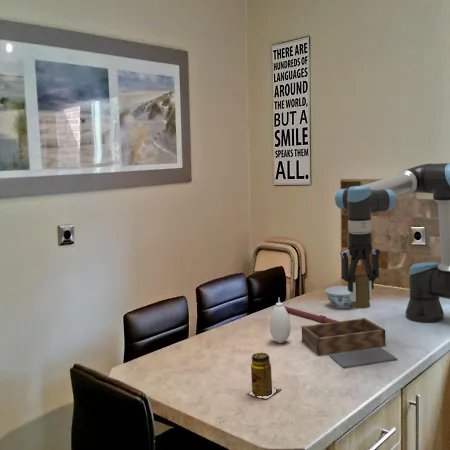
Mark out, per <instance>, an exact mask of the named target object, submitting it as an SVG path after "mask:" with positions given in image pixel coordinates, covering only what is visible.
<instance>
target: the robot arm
mask: <svg viewBox="0 0 450 450" xmlns="http://www.w3.org/2000/svg"><path fill="white" fill-rule="evenodd" d="M415 193H422V194H423V193H424V194H432V196H433V197H432V199H433V201H434V202H435V203H437V213H438V228H439V243H440V244H439V246H440V260H441V262H440V263H439V262H436V261H435V262H434V261H431V262H430V261H429V262H417V263H413V264H412V265H411V266H410V267H409V274H408V276H409V300H408V302H407V306H406V309H405V318H406V319H407V320H410V321H413V322H418V323H437V322H441V321H443V320H444V318H445V312H444V309H443V306H442V304H441V300H440V298H444V299H448V300H450V162H445V163H444V162H442V163H441V162H440V163H424V164H420V165H416V166H413V167H410V168H408V169H404V170H402V171H400V172H399V173H398V174H396V175H392V176H390V177H386V178H383V179H380V180H376V181H373V182H369V183H366V184H363V185H362V184H361V185H356V186H349V187H346V188H340V189H339V190H337V191H336V193H335V195H334V201H335V202H334V203H335V206H336V207H337V208H339V209H342V210H345V211H346V210H347V228H348V229H347V231H348V232H349V233H348V235H347V236H348V241H347V242H348V247H347V250H344V251H340V252H339V253H340V254H339V255H340V256H341V279H342V280H343V281H344V282H347V286H348V291H350V300H352V301H353V302H356V283H355V282H353V281H354V276H355V275H356V271H357V267H358V264H359V261H361V260H362V261H363V265H364V271H365V273H366V274H365V275H367V276H368V279H369V281H368V283H367V288H368V295H369V301H371V300H373V299H372V296H373V294H372V293H373V291H372V290H374V288H375V287H374V285H375V283H374V282H375V281H376V279H378V278H380V269H379V268H380V264H379V263H380V262H379V255H380V251H381V250H380V249H378V248H373V246H372V233H371V231H372V213H373V214H374V213H379V212H381V213H382V212H385V213H386V212H388V211H390V210H393V209H395V207H396V205H397V200H398V199H397V196H399V195H403V194H405V195H410V194H415ZM370 254H371V258H370ZM349 255H350V256H351V257H350V256H349ZM349 257H350V264H349Z"/></svg>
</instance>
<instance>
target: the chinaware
mask: <svg viewBox="0 0 450 450" xmlns="http://www.w3.org/2000/svg"><path fill="white" fill-rule="evenodd" d="M325 294H326V298H327V299H328V301H329V302H330V303H331V304H333V305H334V307H335V308H336V309H349V308H350V307H351V306H352V302H353V301H352V300H350V291H348V285H347V286H346V285H337V286H336V285H335V286H330V287H328V288H326V289H325Z"/></svg>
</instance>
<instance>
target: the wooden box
mask: <svg viewBox="0 0 450 450" xmlns="http://www.w3.org/2000/svg"><path fill="white" fill-rule="evenodd" d="M338 321H339V322H331V323H317V324H309V325H303V326H301V341H302V343H303V344H304V345H305V346H306V347H308V348H309V349H310V350H311V351H312V352H314V353H315V354H316V355H317V356H326V355H334V354H340V353H347V352H354V351H361V350H368V349H375V348H383V347H386V346H387V345H386V339H387V337H386V329H384V328H382V327H381V326H379V325H378V324H376V323H374V322H372V321H370V320H368V319H367V318H365V317H362V318H356V319H348V320H347V319H346V320H338Z"/></svg>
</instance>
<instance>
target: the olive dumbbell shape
mask: <svg viewBox="0 0 450 450" xmlns="http://www.w3.org/2000/svg"><path fill="white" fill-rule="evenodd" d="M368 281H369V279H368V276H367V274H364V273H357V274H356V273H355V276H354V281H353V282H355V283H356V302H352V304H351V307H352V308H354V309H362V310H363V309H364V310H365V309H369V308H370V307H371V303H370V300H369V295H368V288H367V283H368Z"/></svg>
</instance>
